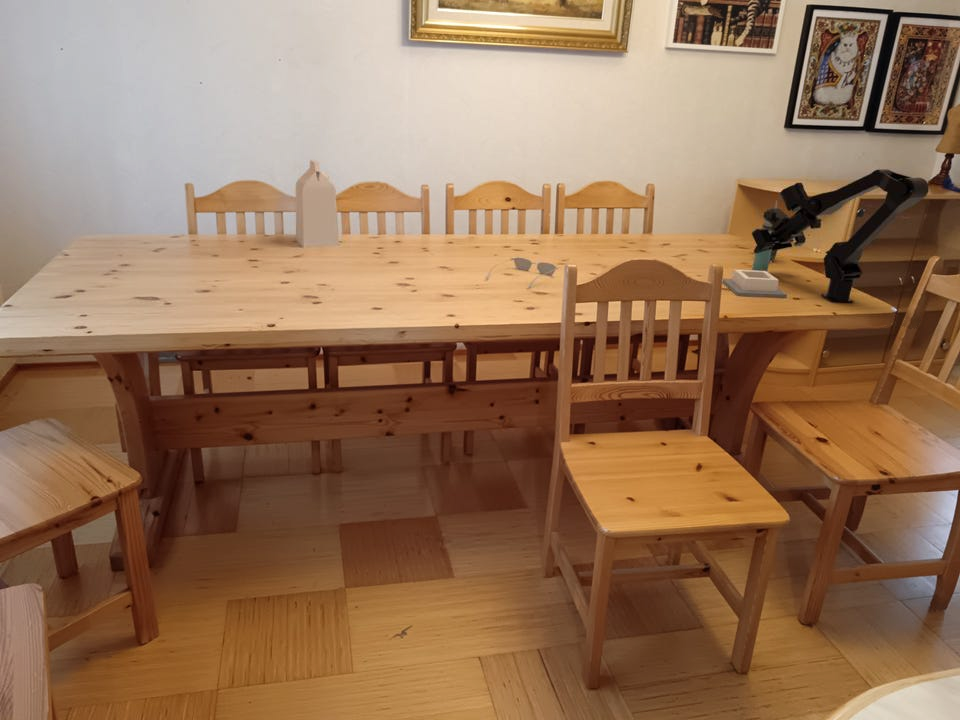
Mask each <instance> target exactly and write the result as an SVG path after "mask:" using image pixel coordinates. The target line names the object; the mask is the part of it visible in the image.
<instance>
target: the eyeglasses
mask: <svg viewBox="0 0 960 720" xmlns="http://www.w3.org/2000/svg"><path fill="white" fill-rule="evenodd" d="M508 261H513V262H514V265H515V267H516V269H517V270H522V271H527V272H528V271H529V270H530V269H531V268H532V264H534V265H537V266H536V270H537V271H538V272H539V273H540V274H539V275H538V276H536V277H535V278H534V279H533V280H532V281H531V282H530V283H529V285H528V286H527V287H526V288H525V290H526V291H528V290H530V289H531V287H532V286H533V284H534V282H535V281H536V280H537V279H538V278H539V277H541V276H543V275H545V276H546V275H547V276H552V277H553V275H554V274H555V271H556V270H559V267H558V266H556V265H555V264H554V263H549V262H541V261H540V262H538V263H537V262H532V261H531V260H530V259H527V258H525V257H515V258H514V257H511V258H510V259H508V260H505V261H503V262H500V263H498V264H495V265H494V266H492V268H491V269H490V270H489V272H488V274H487V276H486V278H485V280H484V281H485V282H488V280H489V278H490V274H491V272H492V271H493V270H494V268H495V267H496V266H499V265H500V264H501V265H502V264H504V263H506V262H508Z"/></svg>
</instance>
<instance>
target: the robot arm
mask: <svg viewBox="0 0 960 720" xmlns="http://www.w3.org/2000/svg"><path fill="white" fill-rule="evenodd" d="M878 188H880V189H881V190H882V191H883V192H886V194H885V199H884V202H883V204H881V205H880V207H879V208H877V210H875V212H874V213H873V214H872V215H871V216H870V217H869V218H868V219H867V220H866V221H865V222H864V223H863V224H862V225H861V227H859V228H858V229H857V231H856V232H855V233H854V234H853V235H852V236H851V237H850V238H849V239H848V240H846V241H837V242H836V241H835V243H834V244H833V245H832V246H831V247H830V249H828V250H827V251H825V256H824V257H823V265H824V272H825V273H824V274H825V278H827V279H828V280H829V283H828V287H827V291H826V293H821V296H822V297H824V298H825V299H827V300H828V301H830V302H835V303H854V300H853V299H851V298H850V295H851V292H852V288H853V283H854V280H858V279H861V277H862V275H863V273H864V272H863V270H862V269H861V267H860V264H859V261H860V260H861V258H862V254H863V251H864V249H866V247H868V245H869V244H871V243H872V241H874V239H876V237H878V235H879V234H881V232H882V231H884V230H885V229H886V228H887V226H889V224H891V222H892V221H893V220H894V219H895V218H896V217H897V216H898V215H899V214H901V213H902V212H903V211H906V210H907V209H909V208H912V207H913V206H915V205H916V204H917V203H919V202H920V201H921V200H923V199H924V198H926V197H927V195H928V194H929V191H930V190H929V183H928V182H927V180H926V179H925V178H922V177H912V176H908V175H906V174H905V175H904V174H901V173H899V172H898V173H897V172H895V171H893V170H891V169H887V168H886V169H884V168H883V169H875V170H873V171H872V172H871V173H869V174H866V175H864V176H863V177H860V178H859V179H856V180H854V181H852V182H850V183H847V184H846V185H843V186H842V187H839V188H837V189H836V190H831V191H827V192H822V193H818V194H815V195H812V196H810V197H809V196H808V194H807V192H806V190H805V187H804V184H803V183H802V182H796V183H795V184H792V185H790V186H787V187H786V188H783V189H782V190H781V191H780V192H779V196H780V198H781V199H782V202H783V204H784V206H785V207H786V210H787V211H788V212H791V211H792V213H793V214H792V215H791V216H790V217H789V215H787V213H785V212H784V211H783V210H782V209H781V208H779V207H777V208H775V207H774V208H769V209H767V210H766V211H764V213H763V216H762V217H763V219H764V221H765V220H767V221H768V222H770V223H771V224H772V225H773V226H771V228H772V230H774V232H770V233H769V231H768V229H765V228H762V227H761V228H756V229H754V230H753V231H752V232H751V236H752V238H753V239H754V241H755V244H756V246H755V247H754V249H753V253H754V254H756V253H760V252H764V251H767V250H771V249H772V251H775V250H777V251H778V250H779V251H781V250H784V249H789V248H792V247H793V246H794V247H801V246H802V245H804V244H805V243H806V239H807V238H806V236H805V233H804V231H806V230H807V229H809V228H810V229H811V230H815V229H820V228H821V227H822V219H821V218H819V217H818V216H830V215H833V214H834V213H836V211H839V210H841V208H842V207H843V206H844V205H845V204H846V203H848V202H850V201H852V200H854V199H856V198H859V197H861V196H863V195H866V194H868V193H869V192H872V191H874V190H877V189H878ZM794 240H795V242H794ZM793 242H794V243H793ZM792 243H793V245H792ZM772 246H773V247H772Z"/></svg>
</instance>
